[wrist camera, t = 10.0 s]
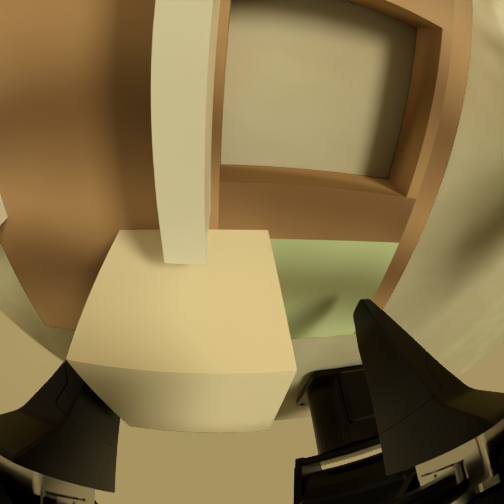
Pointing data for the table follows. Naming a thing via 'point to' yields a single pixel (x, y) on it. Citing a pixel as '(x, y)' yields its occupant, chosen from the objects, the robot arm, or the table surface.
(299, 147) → the table surface
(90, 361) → the cube
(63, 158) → the board
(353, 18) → the table surface
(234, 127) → the table surface
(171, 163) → the cubby
